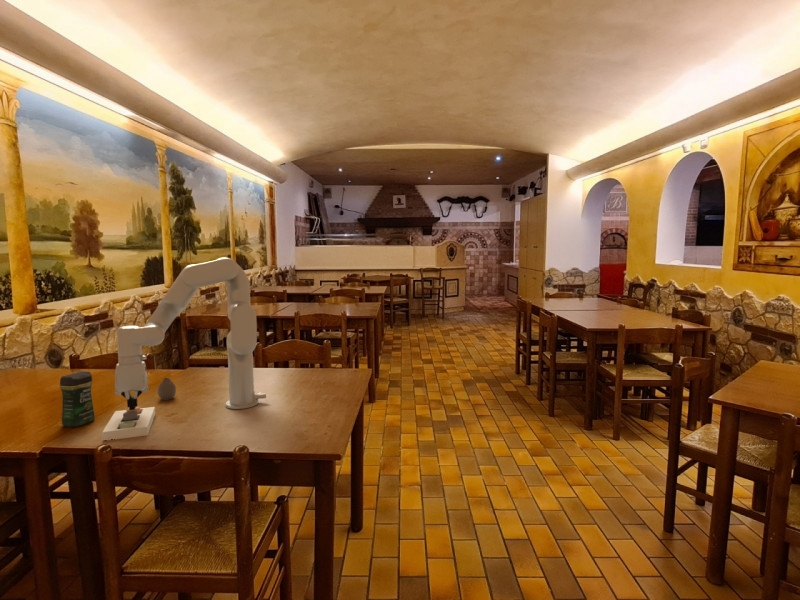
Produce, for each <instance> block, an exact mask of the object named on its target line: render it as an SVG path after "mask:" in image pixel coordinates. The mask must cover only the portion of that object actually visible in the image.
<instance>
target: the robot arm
mask: <svg viewBox="0 0 800 600" xmlns="http://www.w3.org/2000/svg"><path fill="white" fill-rule="evenodd" d="M220 283H225V285H226V290H227V291H226V294H227V318H228V319H229V321H230V322H229V323H230V331H229V332H228V333H227V336H226V351H227V366H228V370H227V371H228V390H229V391H228V393H229V397H228V400H227V401H226V402H225V407H226V408H228V409H232V410H243V409H244V410H245V409H248V408H252V407H255V406H257V405H258V404H259V399H260V400H262V399H266V398H267V394H266V393H263V392H259V393H258V392H256V391H255V379H254V356H253V355H254V354H253V352H254V351H255V349H256V347H257V342H258V341H257V339H258V336H257V335H258V333H257V332H258V330H257V327H258V326H257V324H258V323H257V313H256V310H255V308H254V307H253V306H252V305H251V304H252V303H251V289H250V281H249V277H248V275H247V274H246V272H245V271H244V268H242V267H241V266H240V265H239V263H237V262H236V261H235V260H234V259H232V258H230V257H225V256H224V257H219V258H217V259H215V260H211V261H207V262H201V263H196V264H194V263H193V264H188V265H186V266H185V267H184V268H183V269H182V270H181V272H180V273H179V274H178V276H177V277H176V279H174V282H172V285H171V286H170V288H169V289H168V290H167V291H166V293H165V295H164V296H163V297H162V299H161V301H160V303H159V304H158V306H157V307H156V308H155V310H154V311H153V312H152V314H151V315H150V317H149V319H148V320H147V321H146V322H145V324H144V326H141V327H140V326H138V325H123V326H120V327H118V328H117V331H116V340H117V358H118V363H116V365H115V371H114V372H115V373H114V390H115V391H114V395H116V396H122V397H124V398H125V399H126V401H127V402H126V403H127V404H126V405H127V406H126V407H127V408H129V410H135V408H136V407H138V397H140V396H141V395H142V394H145V393H148V392H149V386H148V385H149V379H148V378H149V377H148V371H147V365H146V362H145V361H144V360H147V355H143V350H142V348H143V347H142V346H147V347H148V346H149V347H154V346H159V345H160V344H162V342H163V341H164V339H165V333H166V331H167V330H168V329H169V327H170V326H171V324H172V323H173V322H174V320H175V319H176V318H177V316H178V315H179V314H181V313H182V312H183V311H184V310H186V308H187V307H188V305H189V304H190V302H191V301H192V299H193V298H194V296H196V294H197V292H198V291H199V289H200V288H202V287H207V286H208V287H209V286H212V285H215V284H220ZM131 392H133V396H132V395H131Z"/></svg>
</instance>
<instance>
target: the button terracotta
mask: <svg viewBox="0 0 800 600" xmlns="http://www.w3.org/2000/svg"><path fill="white" fill-rule="evenodd" d="M140 408H141V407H140V406H137V407H136V408H135V410H129V407H127V409H126V410H127V412H129V411H137V413H138V414H141V410H140Z"/></svg>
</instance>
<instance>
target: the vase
mask: <svg viewBox="0 0 800 600" xmlns="http://www.w3.org/2000/svg"><path fill="white" fill-rule="evenodd" d="M176 393H177V387H176V385H175V383H174V382H173V381H172V380H171V378H170V377H165V378H163V379H162V380H161V382H160V384H159V385H158V387H157V394H158V397H159V398H160V399H161V400H162V401H169V400H172V399H173V398H174V397H175V396H176Z"/></svg>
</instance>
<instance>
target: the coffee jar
mask: <svg viewBox="0 0 800 600" xmlns="http://www.w3.org/2000/svg"><path fill="white" fill-rule="evenodd" d="M93 381H94V380H93V375H92V373H91V372H90V371H84V370H83V371H77V372H74V373H70V374H66V375H63V376H61V377H60V379H59V388H60V389H61V390H60V391H61V394H62V407H61V410H62V411H61V424H62V426H64V427H66V428H72V427H80V426H83V425H87V424H89V423H90V422H93V421H94V420H95V416H96V415H95V409H94V404H93V396H92V395H93V394H92V385H93Z"/></svg>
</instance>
